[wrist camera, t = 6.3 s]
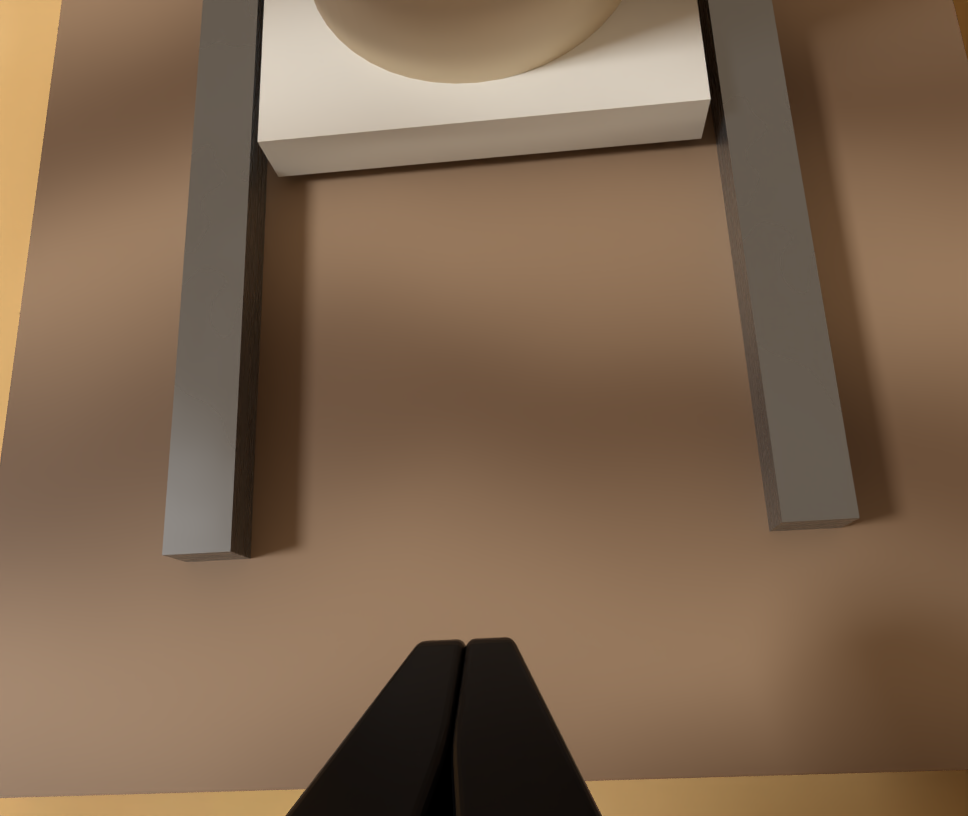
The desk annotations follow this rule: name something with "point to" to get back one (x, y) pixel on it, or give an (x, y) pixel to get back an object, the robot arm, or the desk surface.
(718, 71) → the grey slider guide rails
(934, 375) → the track board
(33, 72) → the desk surface
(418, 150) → the knob slider
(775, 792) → the desk surface
